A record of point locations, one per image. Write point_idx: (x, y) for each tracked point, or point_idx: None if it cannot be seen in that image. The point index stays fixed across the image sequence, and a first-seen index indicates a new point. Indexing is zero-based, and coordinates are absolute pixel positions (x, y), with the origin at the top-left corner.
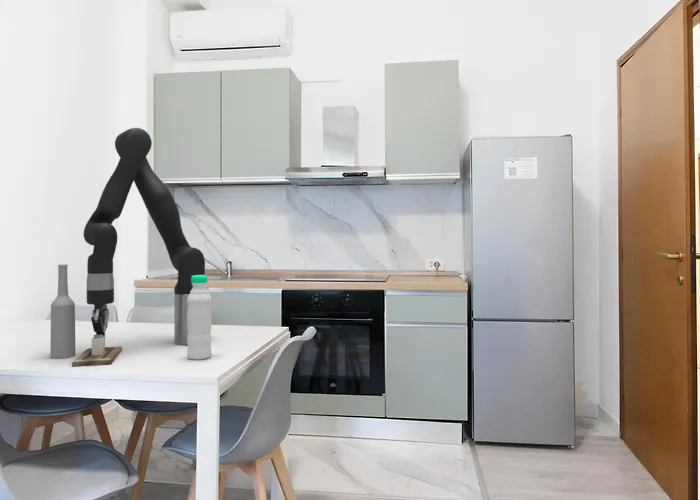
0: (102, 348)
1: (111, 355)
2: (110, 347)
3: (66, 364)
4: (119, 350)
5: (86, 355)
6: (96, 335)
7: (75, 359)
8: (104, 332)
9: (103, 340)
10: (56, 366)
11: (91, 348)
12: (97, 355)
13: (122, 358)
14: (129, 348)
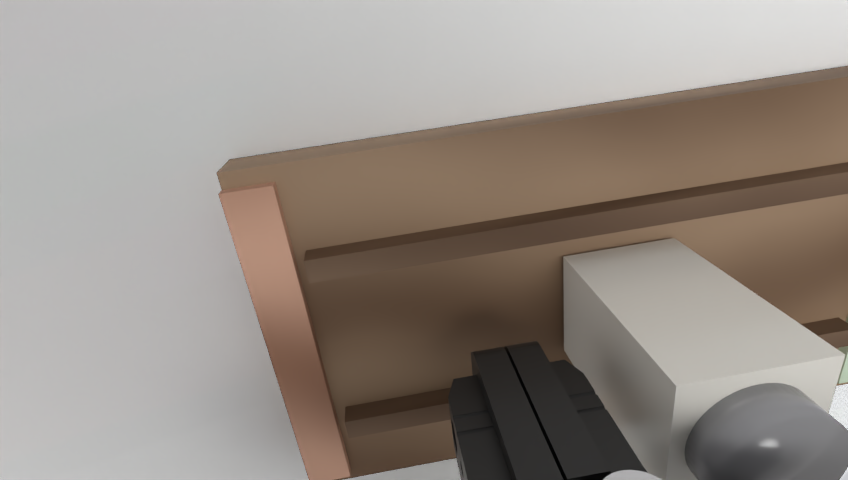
0: (723, 276)
1: (710, 140)
2: (295, 293)
3: None
4: (419, 140)
5: None
6: (825, 477)
7: None
8: (568, 474)
9: (756, 336)
10: None
11: (340, 452)
12: None
13: (663, 16)
14: (54, 108)
